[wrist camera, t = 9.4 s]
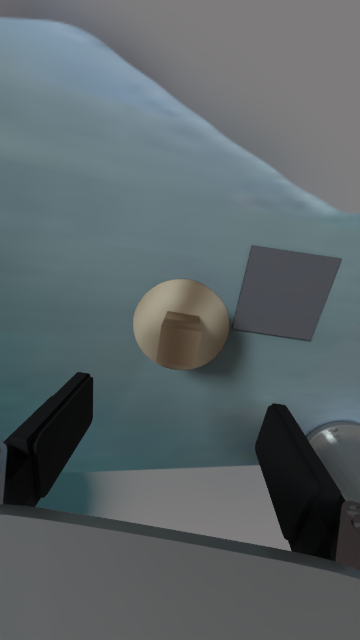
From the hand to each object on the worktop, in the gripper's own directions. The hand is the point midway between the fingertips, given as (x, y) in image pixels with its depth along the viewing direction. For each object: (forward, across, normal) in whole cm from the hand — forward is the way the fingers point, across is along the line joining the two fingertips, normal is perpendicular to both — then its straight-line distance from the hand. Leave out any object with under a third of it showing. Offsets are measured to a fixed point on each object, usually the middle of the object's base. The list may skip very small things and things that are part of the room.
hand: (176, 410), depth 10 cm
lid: (+14, +1, 0) cm, 14 cm away
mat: (+20, -13, -5) cm, 25 cm away
